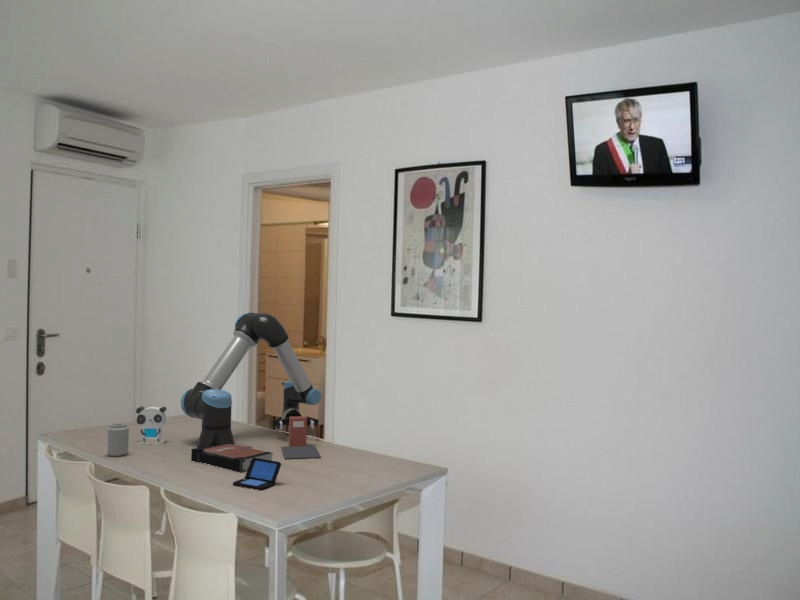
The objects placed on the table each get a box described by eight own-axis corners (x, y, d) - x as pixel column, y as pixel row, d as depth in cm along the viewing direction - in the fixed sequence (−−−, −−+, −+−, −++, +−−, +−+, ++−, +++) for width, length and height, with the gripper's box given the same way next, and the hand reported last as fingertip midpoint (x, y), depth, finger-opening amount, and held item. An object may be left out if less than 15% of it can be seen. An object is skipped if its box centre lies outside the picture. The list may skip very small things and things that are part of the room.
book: (274, 464, 255) (274, 451, 255) (239, 473, 241) (239, 459, 241) (226, 454, 270) (227, 441, 270) (191, 462, 255) (191, 449, 255)
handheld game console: (231, 486, 224) (231, 463, 224) (252, 478, 234) (252, 457, 234) (261, 491, 219) (262, 468, 219) (281, 483, 228) (282, 461, 228)
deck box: (306, 446, 284) (306, 418, 284) (289, 447, 282) (290, 418, 282) (305, 444, 288) (305, 416, 288) (288, 445, 286) (289, 416, 286)
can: (128, 452, 268) (129, 421, 268) (127, 456, 261) (128, 425, 260) (108, 453, 265) (108, 422, 265) (106, 457, 258) (107, 426, 258)
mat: (320, 458, 264) (321, 456, 264) (284, 459, 261) (284, 457, 261) (315, 446, 283) (315, 445, 283) (281, 448, 280) (281, 446, 280)
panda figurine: (132, 445, 280) (132, 409, 280) (141, 439, 291) (142, 404, 291) (161, 445, 280) (161, 409, 280) (169, 439, 292) (170, 405, 292)
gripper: (319, 424, 316) (325, 434, 295) (265, 426, 310) (267, 435, 289) (319, 408, 316) (326, 416, 295) (265, 409, 310) (268, 418, 289)
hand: (297, 426), depth 292 cm, fingers open, 13 cm apart
